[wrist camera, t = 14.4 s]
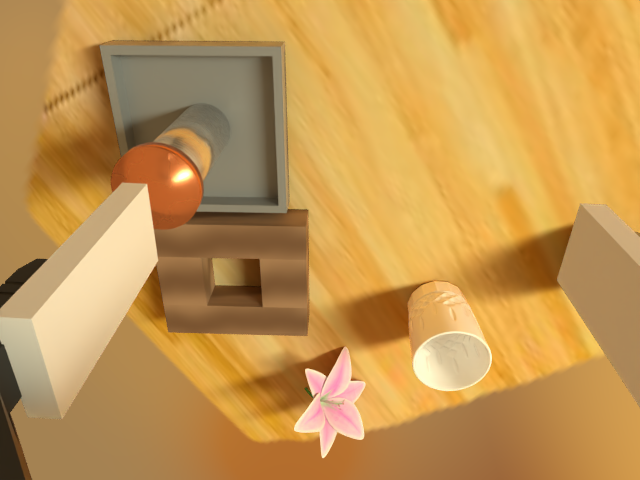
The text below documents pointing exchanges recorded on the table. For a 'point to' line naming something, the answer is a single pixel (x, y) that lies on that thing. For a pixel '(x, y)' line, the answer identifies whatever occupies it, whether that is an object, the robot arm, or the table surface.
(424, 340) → the white cup
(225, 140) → the copper-capped cylinder
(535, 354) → the table surface
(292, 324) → the socket block
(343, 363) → the lily
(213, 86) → the tray
